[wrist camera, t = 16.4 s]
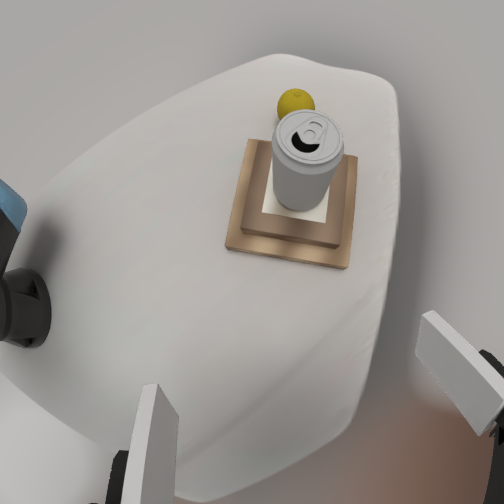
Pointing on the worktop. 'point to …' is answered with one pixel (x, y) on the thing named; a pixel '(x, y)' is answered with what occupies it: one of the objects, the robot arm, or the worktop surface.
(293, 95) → the lemon
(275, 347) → the worktop surface
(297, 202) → the beverage can
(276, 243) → the pedestal
